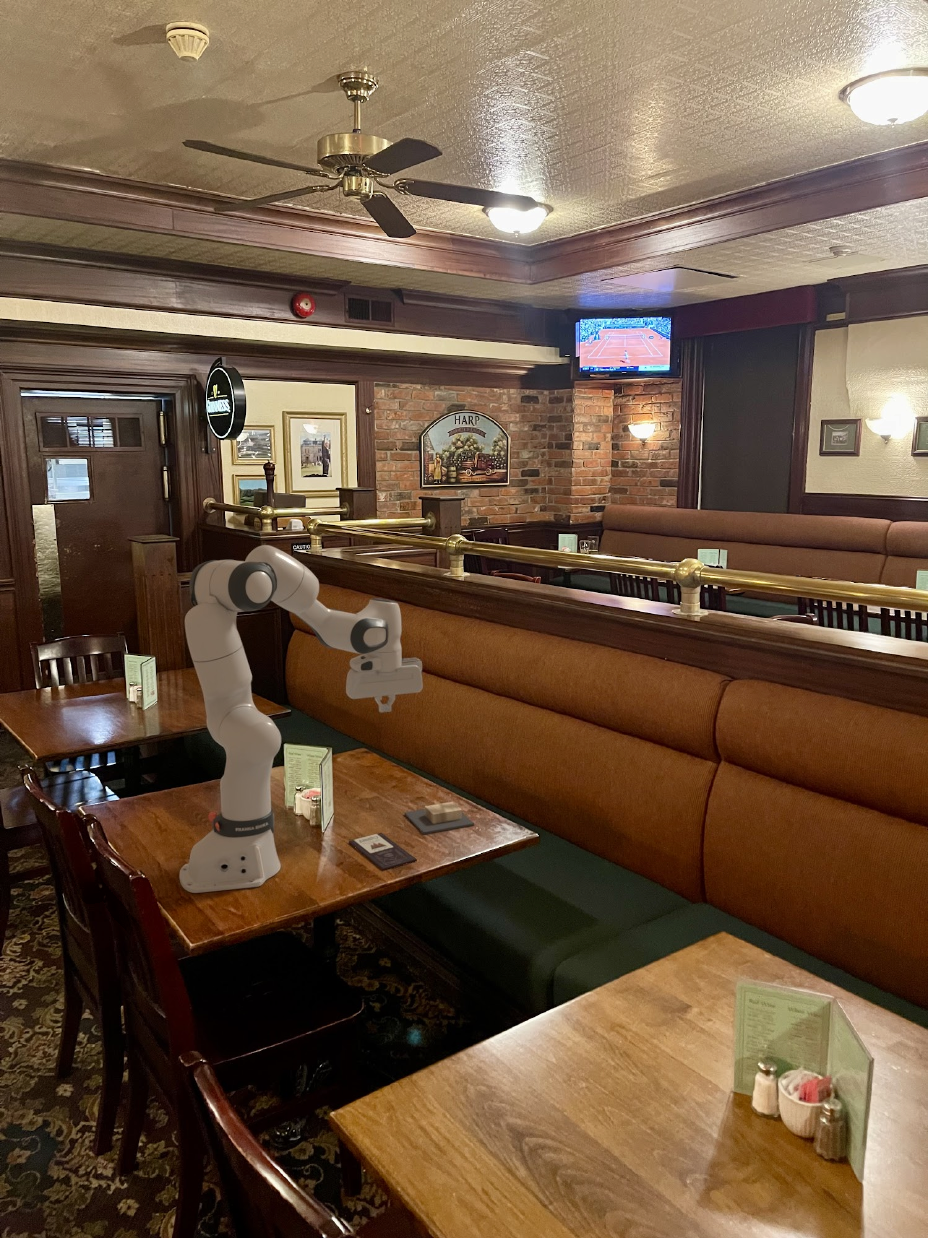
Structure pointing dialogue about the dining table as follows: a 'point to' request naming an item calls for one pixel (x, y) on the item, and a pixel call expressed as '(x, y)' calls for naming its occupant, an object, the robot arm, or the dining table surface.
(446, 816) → the beech slab
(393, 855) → the chocolate bar
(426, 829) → the bar mat
